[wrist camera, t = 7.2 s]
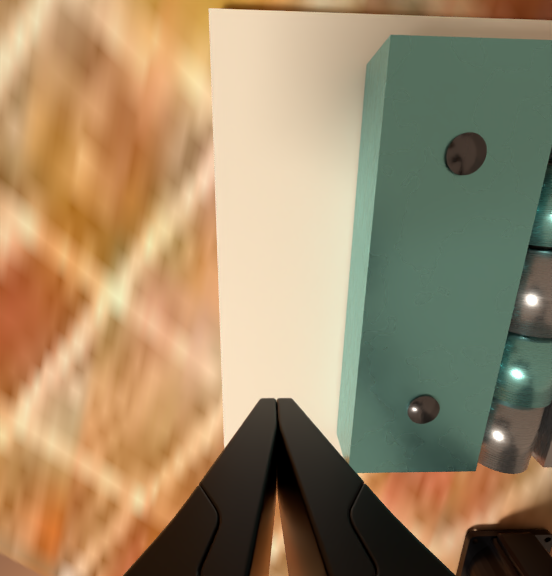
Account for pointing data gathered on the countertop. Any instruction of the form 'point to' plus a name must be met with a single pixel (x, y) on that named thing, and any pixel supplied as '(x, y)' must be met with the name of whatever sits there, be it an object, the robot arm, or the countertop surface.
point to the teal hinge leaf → (444, 249)
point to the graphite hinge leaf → (511, 418)
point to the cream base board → (296, 191)
